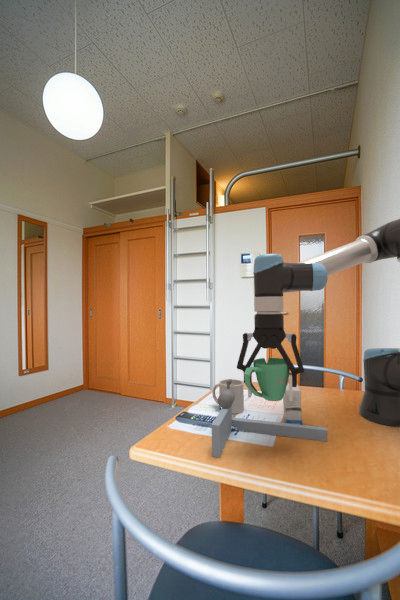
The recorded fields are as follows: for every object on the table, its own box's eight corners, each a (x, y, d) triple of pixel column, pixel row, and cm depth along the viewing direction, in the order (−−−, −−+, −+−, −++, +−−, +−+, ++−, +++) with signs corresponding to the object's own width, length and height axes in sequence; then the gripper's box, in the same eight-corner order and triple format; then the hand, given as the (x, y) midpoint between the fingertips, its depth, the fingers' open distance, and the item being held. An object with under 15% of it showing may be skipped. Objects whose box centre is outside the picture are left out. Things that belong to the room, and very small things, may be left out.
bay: (325, 435, 81) (324, 385, 81) (337, 475, 62) (335, 410, 62) (224, 423, 90) (223, 378, 90) (207, 455, 71) (206, 398, 71)
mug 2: (271, 390, 81) (269, 356, 82) (300, 398, 73) (298, 360, 74) (234, 401, 73) (232, 363, 73) (262, 412, 65) (260, 369, 65)
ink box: (302, 429, 85) (301, 391, 85) (285, 428, 86) (285, 390, 86) (298, 418, 93) (297, 383, 93) (283, 417, 94) (282, 382, 94)
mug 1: (248, 411, 99) (248, 383, 99) (225, 416, 96) (224, 387, 96) (233, 402, 109) (233, 376, 109) (211, 405, 106) (211, 379, 106)
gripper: (312, 312, 74) (314, 396, 73) (229, 312, 80) (230, 389, 80) (315, 313, 66) (317, 406, 66) (224, 313, 73) (225, 398, 73)
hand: (270, 397), depth 73 cm, fingers closed on mug 2, 10 cm apart
